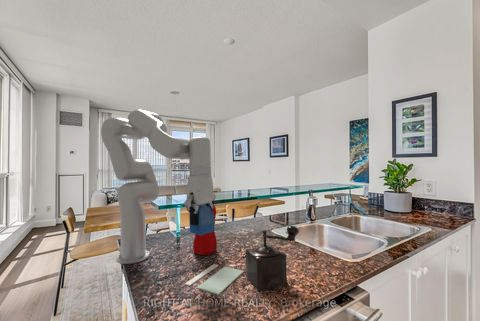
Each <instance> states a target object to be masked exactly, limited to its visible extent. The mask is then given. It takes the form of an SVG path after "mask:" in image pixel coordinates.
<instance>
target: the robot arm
mask: <svg viewBox="0 0 480 321" xmlns="http://www.w3.org/2000/svg"><path fill="white" fill-rule="evenodd" d="M167 128H168V127H167V125H166V124H165V123H164V121H163V119H162V117H161V116H160V115H159V114H158V113H154V112H151V111H147V110H143V109H134V110H132V111H130V113H128V116H127V118H122V117H109V118H105V120H104V121H103V122H102V125H101V128H100V137H101V140H102V142H103V144H104V147H105V148H106V150H107V152H108V155H109V159H110V162H111V165H112V169H113V171H114V175H115V177H116V178H117V180H119V181H120V182H121V181H122V182H127V183H124V184H122V185H121V186H119V188H118V189H117V192H116V193H117V201H118V205H119V206H118V207H119V215H120V216H119V218H120V223H119V224H120V246H118V247H117V249H116V250H117V251H118V252H119V255H117V257H116V261H115V262H117V263H118V264H121V265H131V264H136V263H140V262H143V261H145V260H146V259H148V258H149V257H150V256H151V254H150V251H149V250H147V248H146V247H147V246H146V244H147V243H146V240H147V239H146V235H147V234H146V232H147V230H146V229H147V228H146V213H145V210H144V209H143V207H142V204H146V203H151V202H154V201H156V200H157V199H158V198H159V196H160V187H159V184H158V181H157V178H156V175H155V172H154V169H153V166H152V165H151V163H150V162H149V161H147V160H145V159H142V158H141V159H139V158H138V159H136V158H134V156H133V154H132V150H131V148H130V147H129V145H128V143H126V142H125V141H124V140H123V139H127V140H137V141H138V140H142V139H145V138H146V139H148V142H149V145H150V147H151V148H152V149H153V150H155V152H157V153H159V154H160V155H161V156H163V157H164V158H168V159H174V160H175V159H177V160H189V176H188V178H187V184H186V200H185V201H184V203H183V205H184V207H185V208H186V210H187V211H188V214H190V221H189V225H190V224H191V225H196V226H197V225H199V220H198V213H197V211H198V208H199V205H203V204H206V206H208V207H210V208H211V210H212V211H213V207H214V206H213V205H215V202H216V198H217V197H216V195H215V194H214V182H213V178H212V160H211V159H212V155H211V140H210V138H209V137H206V136H205V137H204V136H195V137H191V138H190V139H188V138H187V139H186V138H181V137H176V136H175V137H174V136H172V135H169V134H168V133H167V132H168V129H167ZM129 181H130V182H129ZM132 181H133V182H132ZM193 207H195V209H194V208H193Z"/></svg>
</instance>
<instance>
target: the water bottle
mask: <svg viewBox="0 0 480 321" xmlns="http://www.w3.org/2000/svg"><path fill="white" fill-rule="evenodd" d="M213 206H214V207H213V213H214V223H216V222H215V221H216V217H217V207H216V205H215V204H214V205H213ZM193 237H194V238H193V242H192V243H193V244H192V249H193V253H194V254H195V255H202V256H209V255H212V254H213V253H214V252H216V251H217V248H218V242H217V241H218V240H217V237H216V233H215V231H214V232H210V233H207V234H203V235H197V234H194V236H193Z"/></svg>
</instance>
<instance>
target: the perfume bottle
mask: <svg viewBox="0 0 480 321" xmlns="http://www.w3.org/2000/svg"><path fill="white" fill-rule="evenodd" d="M193 208H194V209H195V207H193ZM197 213H198V220H199V225H197V226H196V225H191V224H190V223H189V233H192V234H194V235H195V234H197V235H203V234H207V233H210V232H214V231H215V222H214V213H213V211H212V210H211V208H210V207H208V206H206V204H203V205H199V208H198V211H197ZM188 215H189V222H190V213H188Z"/></svg>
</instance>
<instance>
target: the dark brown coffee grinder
mask: <svg viewBox="0 0 480 321" xmlns="http://www.w3.org/2000/svg"><path fill="white" fill-rule="evenodd" d="M286 232H287V236H286V237H283V236H276V235H269V234H267V230H266V229H263V230H262V237H263V245H259V246H258V247H252V248H247V249H245V277H246V279H247V280H248V281H249V283H251V284H252V286H253V287H254V288H255V289H256V290H257V291H258V292H263V291H268V290H273V289H276V288H279V287H283V286H285V285H287V284H288V280H287V279H288V278H287V273H288V272H287V255H286V254H285V253H284V252H282V251H281V250H279V249H277V248H276V247H274V246H273V245H267V239H274V240H275V239H276V240H281V241H285V242H287V241H288V242H295V241H296V236H297V235H298V234H299V232H300V230H299V228H298V227H297V226H295V225H288V226H287V227H286Z"/></svg>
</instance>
